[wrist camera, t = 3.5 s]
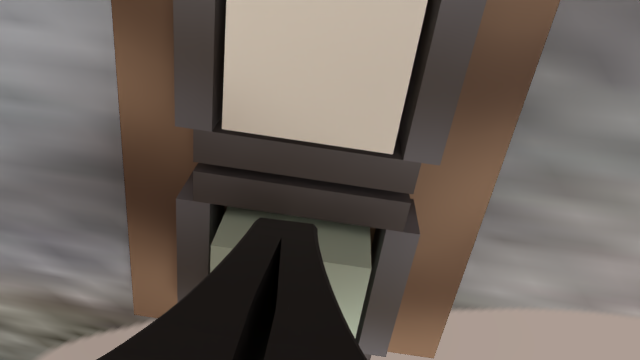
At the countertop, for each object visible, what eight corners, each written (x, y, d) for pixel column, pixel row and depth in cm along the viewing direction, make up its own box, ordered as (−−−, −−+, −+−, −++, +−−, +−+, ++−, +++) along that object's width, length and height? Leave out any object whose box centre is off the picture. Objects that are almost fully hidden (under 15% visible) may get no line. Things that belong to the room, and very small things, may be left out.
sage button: (230, 199, 16) (210, 245, 13) (369, 219, 16) (371, 269, 13) (225, 303, 18) (207, 356, 16) (347, 321, 18) (346, 377, 16)
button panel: (108, -661, 10) (-33, -980, 6) (718, -567, 10) (918, -828, 6) (152, 281, 21) (112, 354, 18) (427, 321, 21) (440, 402, 18)
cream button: (250, -68, 13) (228, -62, 10) (422, -42, 13) (434, -31, 11) (241, 96, 15) (221, 128, 13) (388, 118, 15) (392, 154, 13)
